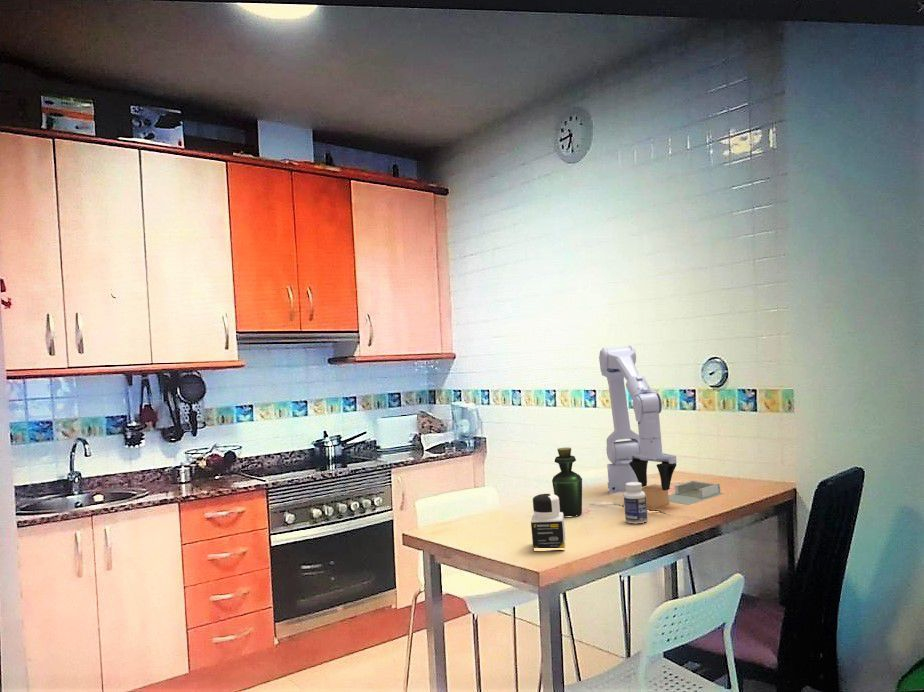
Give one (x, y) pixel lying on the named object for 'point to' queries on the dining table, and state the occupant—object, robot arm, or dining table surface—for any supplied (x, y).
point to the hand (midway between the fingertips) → (654, 488)
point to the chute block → (655, 496)
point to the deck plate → (687, 499)
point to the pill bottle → (635, 503)
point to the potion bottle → (567, 484)
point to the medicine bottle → (547, 522)
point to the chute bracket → (697, 489)
